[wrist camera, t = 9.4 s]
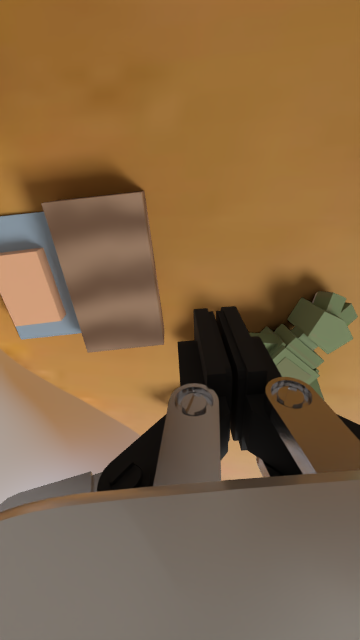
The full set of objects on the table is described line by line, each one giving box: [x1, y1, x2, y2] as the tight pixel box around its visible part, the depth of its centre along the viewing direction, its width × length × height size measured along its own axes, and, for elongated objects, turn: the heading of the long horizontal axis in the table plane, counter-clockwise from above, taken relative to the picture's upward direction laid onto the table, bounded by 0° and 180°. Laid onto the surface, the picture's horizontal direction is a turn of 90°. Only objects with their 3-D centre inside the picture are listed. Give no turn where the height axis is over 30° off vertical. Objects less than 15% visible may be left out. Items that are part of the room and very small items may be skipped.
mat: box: [0, 212, 82, 339], centre depth 34 cm, size 16×10×1 cm, turn 6°
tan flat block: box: [0, 248, 66, 326], centre depth 34 cm, size 9×6×2 cm, turn 7°
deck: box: [41, 191, 164, 352], centre depth 33 cm, size 18×10×4 cm, turn 6°
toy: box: [249, 291, 358, 400], centre depth 39 cm, size 21×8×30 cm
